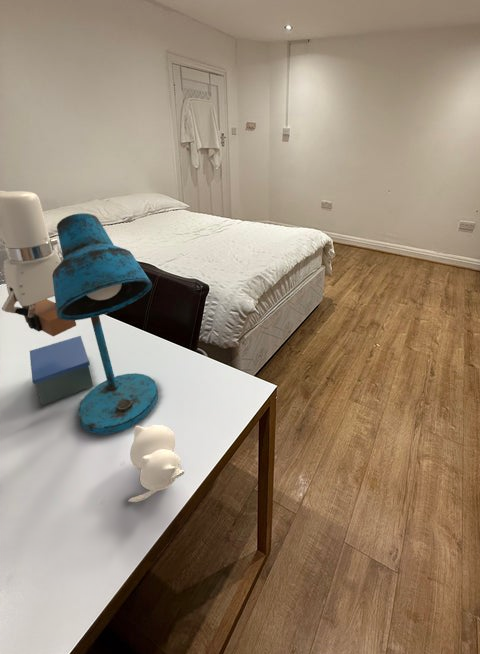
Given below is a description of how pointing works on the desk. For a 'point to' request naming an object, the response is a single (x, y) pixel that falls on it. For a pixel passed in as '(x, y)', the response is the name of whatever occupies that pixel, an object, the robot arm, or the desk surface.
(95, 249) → the desk lamp
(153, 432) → the cat figurine
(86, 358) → the container
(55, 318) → the block
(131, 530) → the desk surface
